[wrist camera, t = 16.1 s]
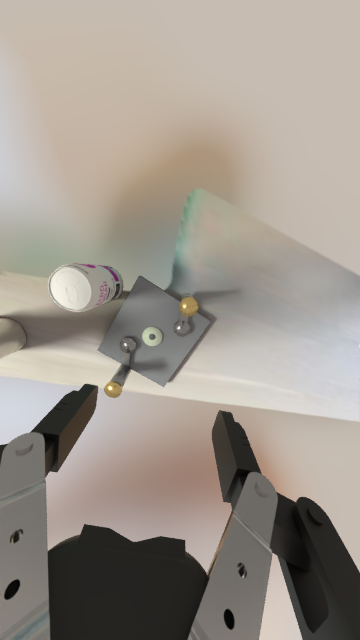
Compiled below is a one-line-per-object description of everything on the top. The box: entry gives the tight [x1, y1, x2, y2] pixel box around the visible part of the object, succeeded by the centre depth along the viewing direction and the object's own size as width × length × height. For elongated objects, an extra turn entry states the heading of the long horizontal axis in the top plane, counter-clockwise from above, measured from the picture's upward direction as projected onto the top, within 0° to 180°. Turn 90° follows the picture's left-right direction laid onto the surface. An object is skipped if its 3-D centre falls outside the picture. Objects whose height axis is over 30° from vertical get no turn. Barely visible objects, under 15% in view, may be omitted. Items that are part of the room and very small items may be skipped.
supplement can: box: [48, 263, 123, 312], centre depth 36 cm, size 8×8×15 cm
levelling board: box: [98, 276, 211, 387], centre depth 45 cm, size 20×22×2 cm
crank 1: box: [104, 336, 137, 398], centre depth 41 cm, size 11×4×9 cm, turn 169°
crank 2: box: [174, 293, 199, 337], centre depth 38 cm, size 11×4×9 cm, turn 170°
